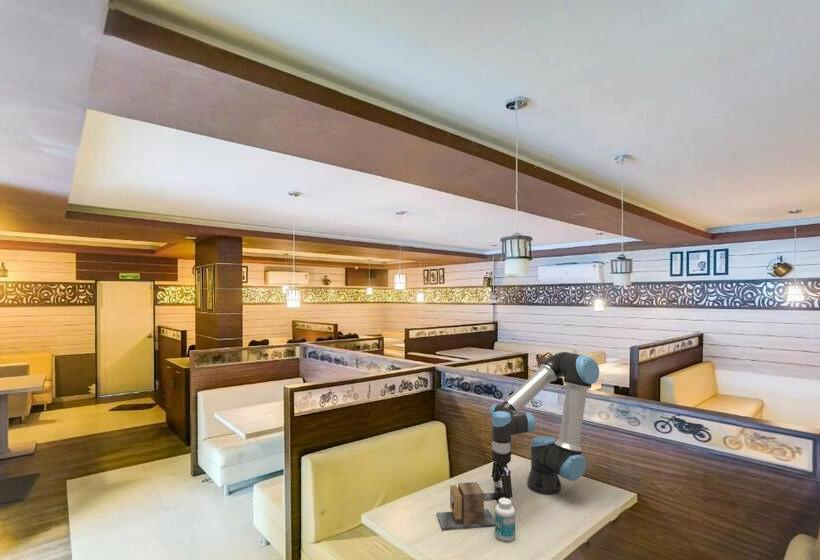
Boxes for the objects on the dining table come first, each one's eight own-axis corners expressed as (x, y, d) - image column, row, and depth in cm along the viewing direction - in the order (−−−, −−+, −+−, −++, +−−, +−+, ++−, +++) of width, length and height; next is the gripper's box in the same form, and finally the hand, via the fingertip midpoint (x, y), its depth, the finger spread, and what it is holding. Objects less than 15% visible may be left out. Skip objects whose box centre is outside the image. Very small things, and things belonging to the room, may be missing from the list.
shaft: (504, 499, 174) (504, 486, 174) (508, 504, 169) (508, 492, 169) (450, 502, 171) (450, 490, 171) (452, 508, 166) (452, 495, 167)
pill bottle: (492, 531, 162) (492, 496, 162) (511, 530, 163) (511, 495, 163) (498, 543, 155) (498, 506, 155) (517, 542, 155) (517, 505, 155)
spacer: (456, 506, 173) (456, 485, 174) (461, 518, 165) (461, 495, 165) (450, 507, 173) (450, 485, 173) (455, 519, 164) (455, 496, 164)
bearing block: (488, 511, 176) (487, 480, 176) (496, 526, 165) (496, 493, 165) (436, 515, 173) (436, 483, 174) (442, 530, 162) (442, 496, 163)
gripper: (484, 440, 183) (484, 491, 182) (502, 463, 160) (502, 521, 159) (500, 439, 184) (500, 490, 183) (521, 462, 161) (521, 519, 160)
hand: (501, 504), depth 171 cm, fingers open, 11 cm apart
